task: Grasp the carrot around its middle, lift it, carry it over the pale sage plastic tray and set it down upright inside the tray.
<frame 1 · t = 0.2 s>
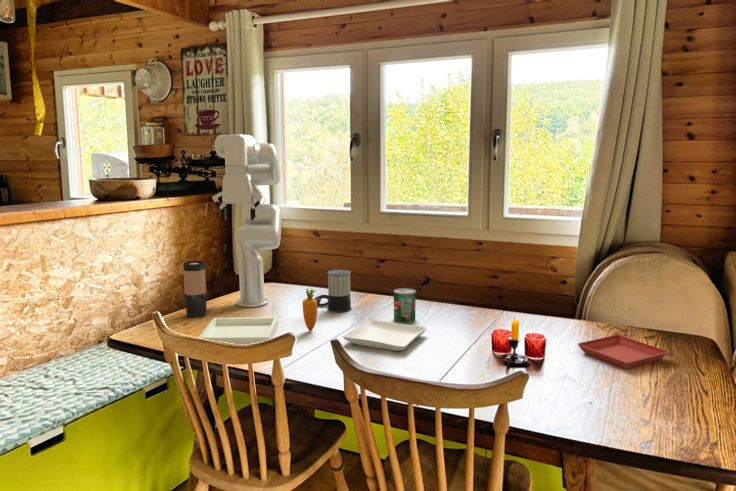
hand: (238, 220, 200), 37 cm above the table, tool pointing down, fingers open, 9 cm apart
carrot: (310, 331, 194), on the table
tray: (240, 335, 189), on the table
plant saucer: (621, 358, 170), on the table
salad plate: (385, 342, 185), on the table
travel mug: (196, 315, 214), on the table
canned tomato: (404, 320, 207), on the table
milk frother: (331, 308, 224), on the table
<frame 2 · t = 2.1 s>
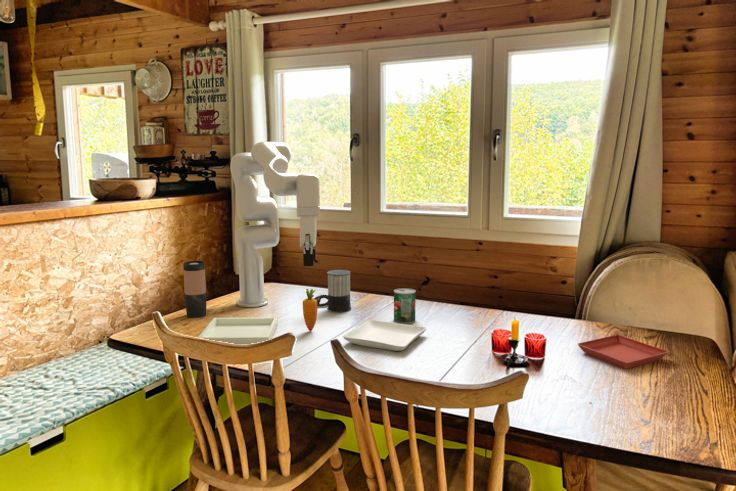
hand: (309, 263, 190), 24 cm above the table, tool pointing down, fingers open, 9 cm apart
nothing on the table moved.
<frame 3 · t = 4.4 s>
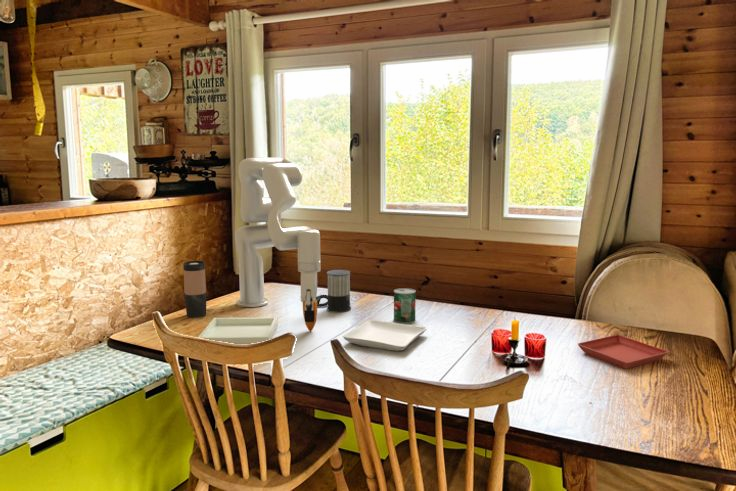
hand: (310, 318, 193), 4 cm above the table, tool pointing down, fingers closed on carrot, 4 cm apart
carrot: (310, 331, 194), on the table, touching gripper
everything else where it was.
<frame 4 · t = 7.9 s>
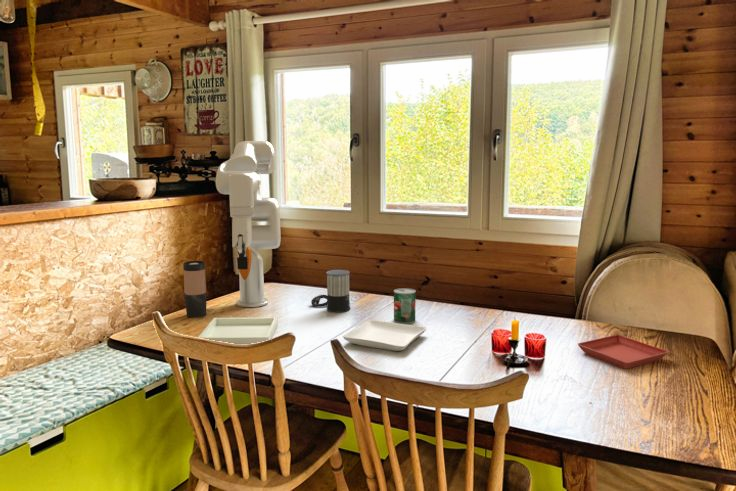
hand: (244, 266, 186), 23 cm above the table, tool pointing down, fingers closed on carrot, 4 cm apart
carrot: (244, 280, 187), point 19 cm above the table, touching gripper
everything else where it was.
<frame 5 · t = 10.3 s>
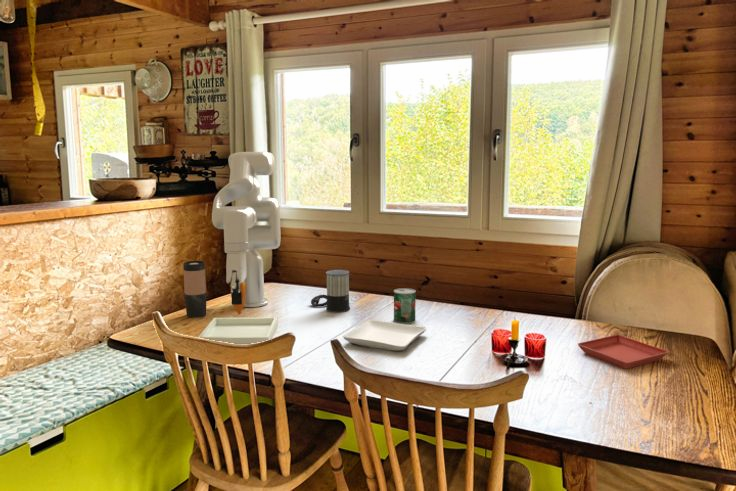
hand: (238, 301, 187), 12 cm above the table, tool pointing down, fingers closed on carrot, 4 cm apart
carrot: (239, 315, 188), point 7 cm above the table, touching gripper
everything else where it was.
when the fingers open (7 cm above the table, at t = 11.8 s): carrot drops 1 cm, resting on tray.
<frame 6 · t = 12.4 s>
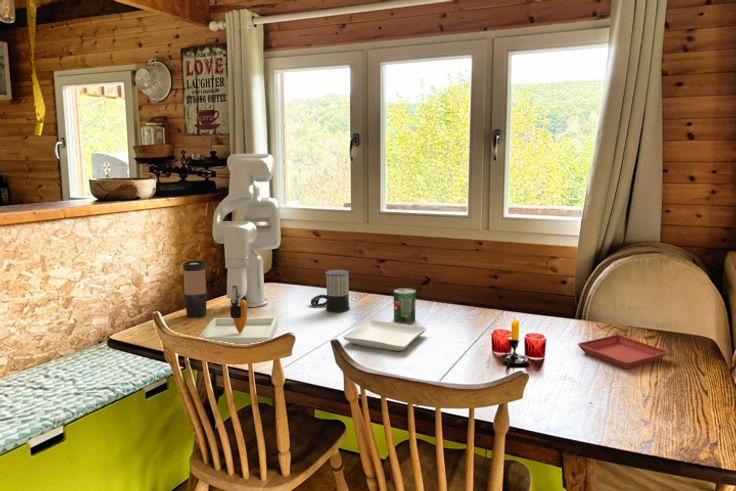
hand: (239, 313, 188), 8 cm above the table, tool pointing down, fingers open, 9 cm apart
carrot: (240, 333, 190), point 1 cm above the table, touching tray
everything else where it was.
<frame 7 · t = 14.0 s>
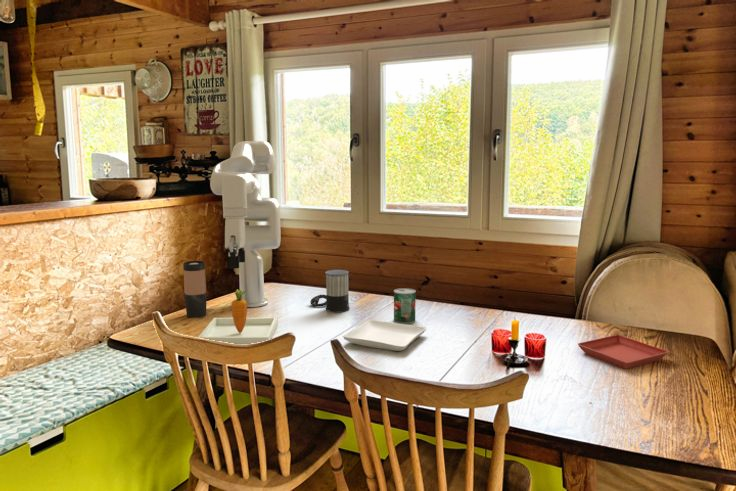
hand: (237, 265, 186), 24 cm above the table, tool pointing down, fingers open, 9 cm apart
nothing on the table moved.
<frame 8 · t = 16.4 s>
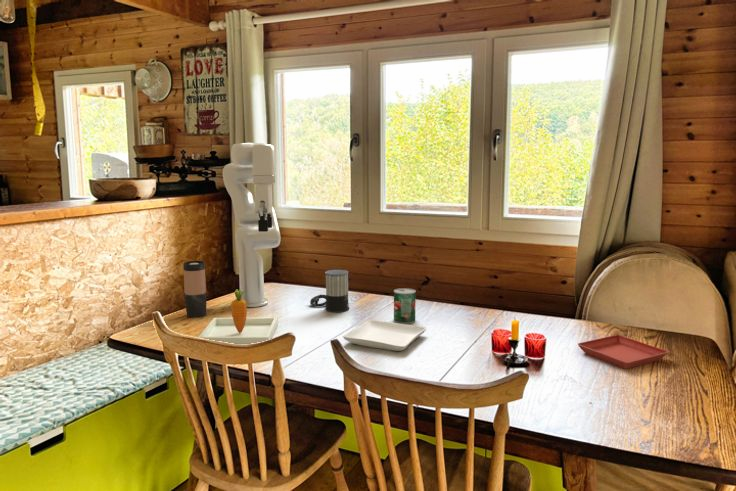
hand: (265, 229, 200), 33 cm above the table, tool pointing down, fingers open, 9 cm apart
nothing on the table moved.
at the end: carrot inside the target area on the tray (0.4 cm from its centre), point 0.6 cm above the tray's base; carrot tilted 2°; the gripper is holding nothing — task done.
